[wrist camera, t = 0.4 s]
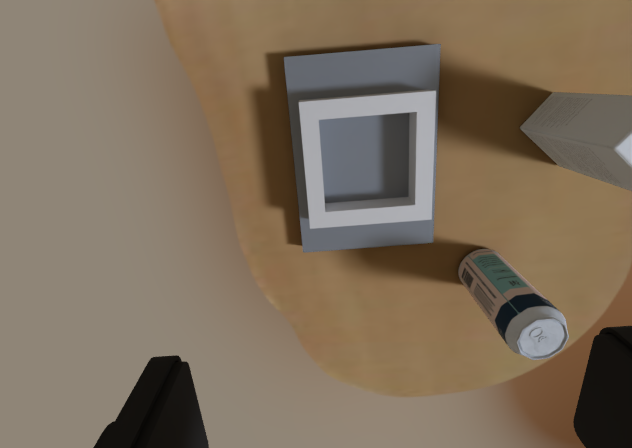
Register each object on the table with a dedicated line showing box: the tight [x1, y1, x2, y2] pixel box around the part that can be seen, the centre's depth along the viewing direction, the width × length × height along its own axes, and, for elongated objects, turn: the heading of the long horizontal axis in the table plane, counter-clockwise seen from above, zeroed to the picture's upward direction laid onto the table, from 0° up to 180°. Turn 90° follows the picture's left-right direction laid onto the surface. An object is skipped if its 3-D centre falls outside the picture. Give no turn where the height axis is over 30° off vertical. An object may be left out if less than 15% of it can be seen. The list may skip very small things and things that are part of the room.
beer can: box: [458, 249, 569, 360], centre depth 35 cm, size 5×5×12 cm
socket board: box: [284, 44, 441, 252], centre depth 34 cm, size 18×13×4 cm
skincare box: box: [520, 92, 632, 191], centre depth 30 cm, size 6×4×12 cm
